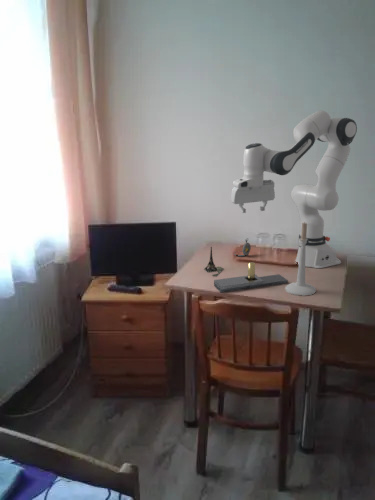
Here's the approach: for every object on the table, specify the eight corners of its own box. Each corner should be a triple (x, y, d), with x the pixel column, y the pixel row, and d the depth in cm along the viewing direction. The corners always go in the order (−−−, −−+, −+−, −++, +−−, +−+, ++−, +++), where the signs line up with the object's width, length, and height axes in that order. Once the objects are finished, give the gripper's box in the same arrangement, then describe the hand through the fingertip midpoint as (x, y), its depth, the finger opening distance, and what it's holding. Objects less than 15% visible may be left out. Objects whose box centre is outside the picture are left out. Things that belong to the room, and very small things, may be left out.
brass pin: (252, 282, 201) (253, 261, 198) (255, 285, 198) (256, 264, 195) (246, 283, 200) (247, 262, 197) (249, 286, 197) (249, 264, 194)
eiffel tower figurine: (216, 277, 209) (216, 250, 205) (196, 275, 213) (196, 248, 209) (226, 267, 223) (227, 242, 219) (207, 265, 226) (207, 240, 222)
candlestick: (284, 294, 188) (288, 225, 179) (285, 283, 200) (288, 218, 191) (316, 297, 185) (321, 226, 176) (315, 285, 197) (320, 219, 188)
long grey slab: (279, 277, 207) (279, 271, 206) (287, 283, 200) (287, 277, 199) (214, 285, 199) (214, 280, 198) (220, 292, 191) (220, 286, 190)
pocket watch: (234, 253, 243) (235, 235, 240) (250, 253, 242) (250, 235, 239) (234, 257, 235) (234, 239, 232) (250, 258, 234) (250, 239, 231)
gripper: (271, 178, 204) (270, 207, 209) (229, 182, 199) (229, 212, 203) (277, 180, 199) (276, 210, 203) (235, 184, 193) (235, 215, 197)
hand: (253, 211), depth 203 cm, fingers open, 8 cm apart
